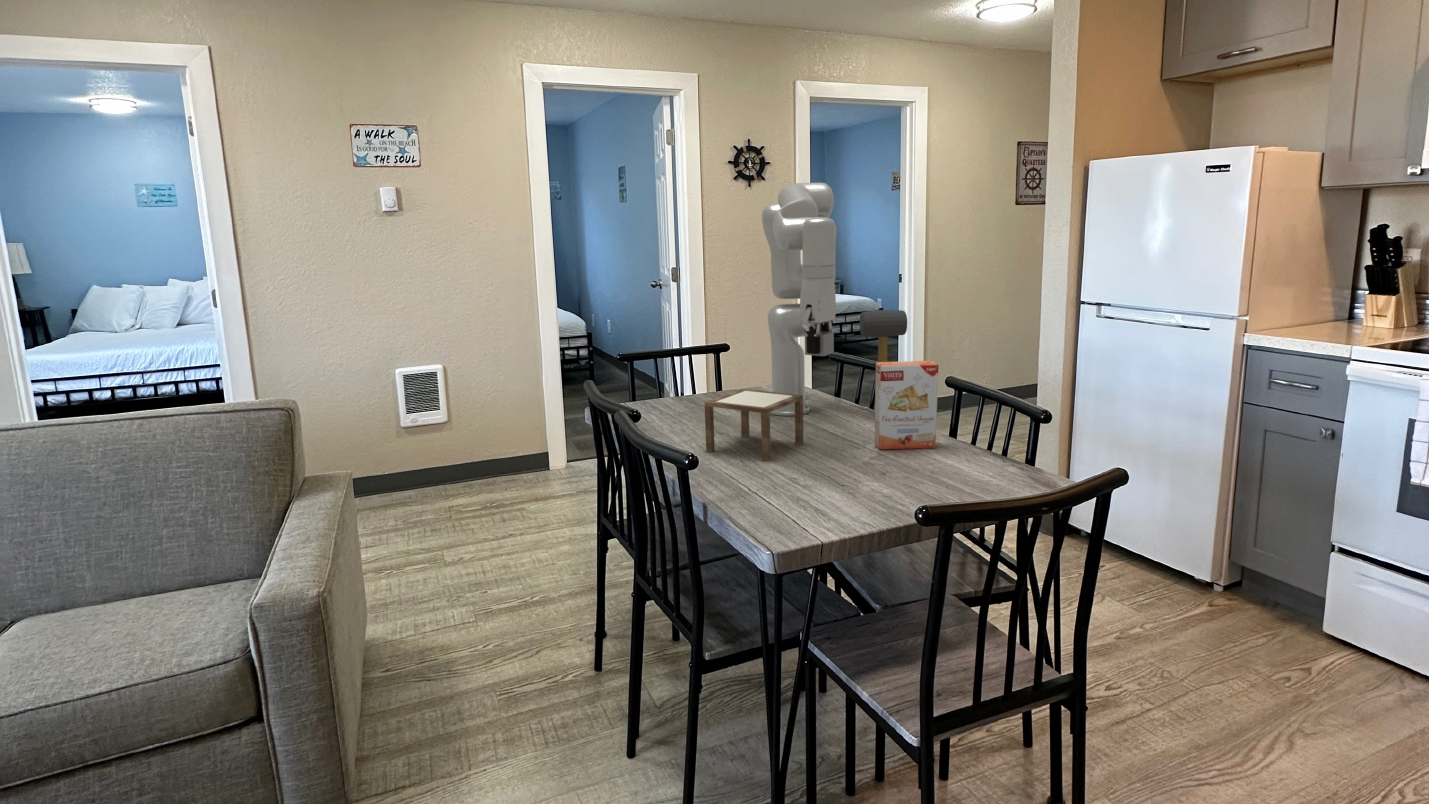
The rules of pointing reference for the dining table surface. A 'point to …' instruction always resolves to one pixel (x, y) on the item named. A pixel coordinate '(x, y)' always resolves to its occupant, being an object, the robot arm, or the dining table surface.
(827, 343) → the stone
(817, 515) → the dining table surface
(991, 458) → the dining table surface
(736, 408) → the frame
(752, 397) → the trapdoor
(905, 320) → the rubber mallet
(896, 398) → the cracker box
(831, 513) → the dining table surface
